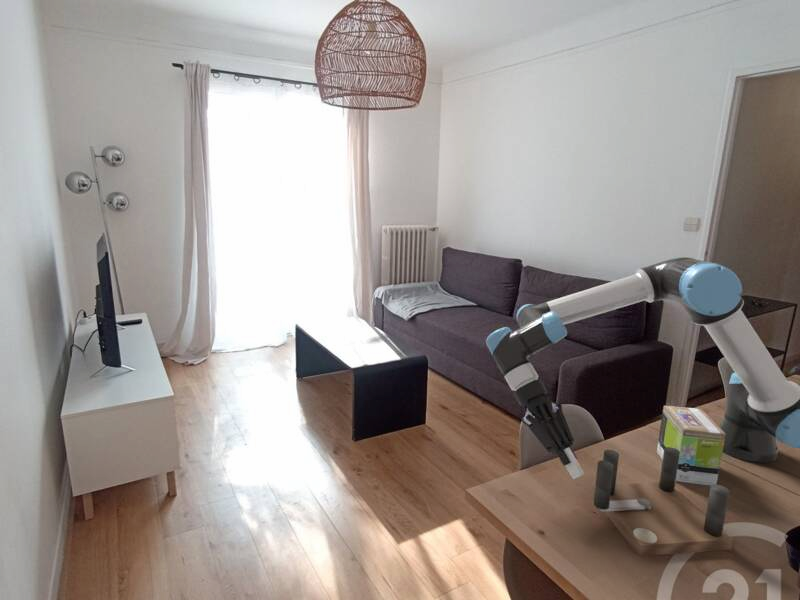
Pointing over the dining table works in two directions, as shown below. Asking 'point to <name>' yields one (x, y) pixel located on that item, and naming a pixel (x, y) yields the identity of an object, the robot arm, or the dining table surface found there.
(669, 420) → the tea box
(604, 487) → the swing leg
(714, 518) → the stool seat
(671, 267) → the robot arm
